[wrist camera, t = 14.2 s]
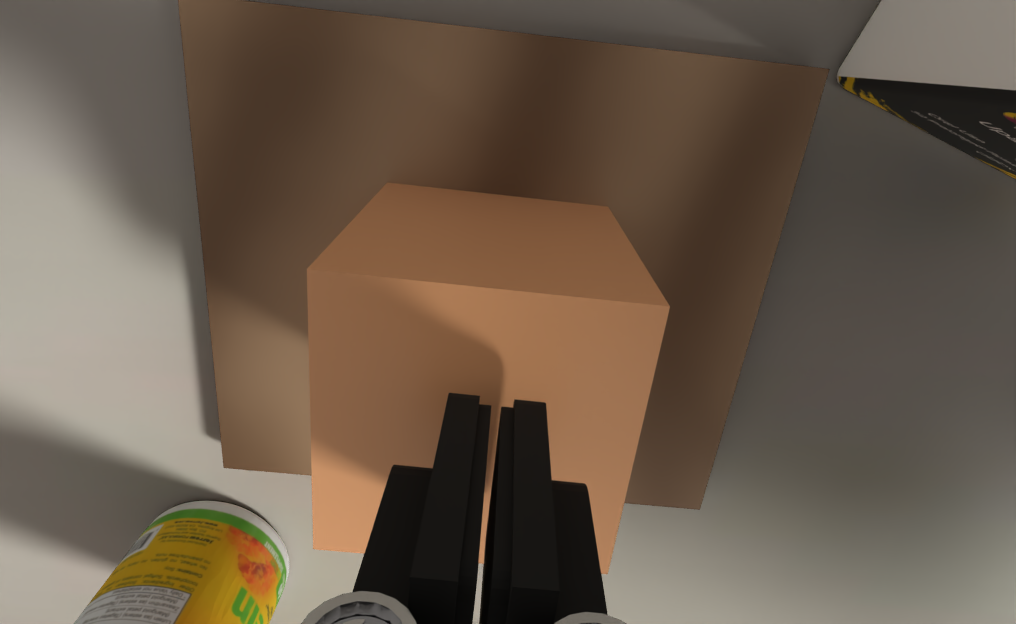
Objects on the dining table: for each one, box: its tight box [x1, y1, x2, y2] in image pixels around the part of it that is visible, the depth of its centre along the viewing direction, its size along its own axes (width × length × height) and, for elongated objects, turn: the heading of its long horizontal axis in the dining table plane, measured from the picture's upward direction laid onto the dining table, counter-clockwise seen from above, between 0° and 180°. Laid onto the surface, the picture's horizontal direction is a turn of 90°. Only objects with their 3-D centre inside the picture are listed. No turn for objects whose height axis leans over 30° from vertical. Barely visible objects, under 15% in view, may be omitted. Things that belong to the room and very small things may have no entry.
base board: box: [178, 0, 829, 510], centre depth 18 cm, size 16×14×1 cm
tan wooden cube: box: [307, 182, 670, 574], centre depth 14 cm, size 6×6×7 cm
